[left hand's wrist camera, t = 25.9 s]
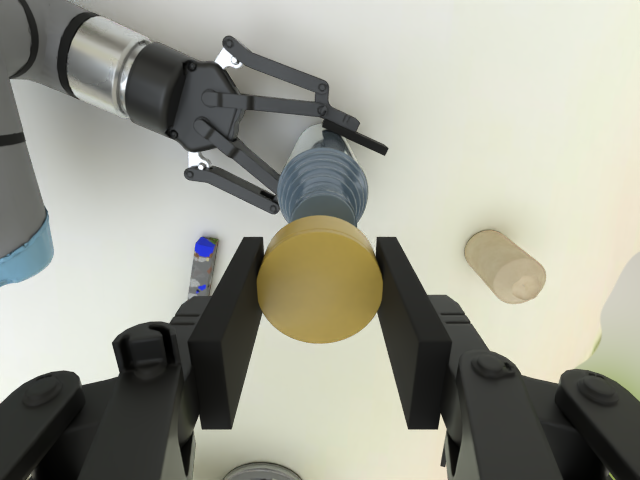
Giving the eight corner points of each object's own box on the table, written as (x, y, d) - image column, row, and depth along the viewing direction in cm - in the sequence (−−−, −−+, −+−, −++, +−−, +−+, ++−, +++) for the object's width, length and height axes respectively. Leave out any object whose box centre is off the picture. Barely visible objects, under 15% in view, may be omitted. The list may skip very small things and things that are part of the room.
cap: (395, 283, 15) (405, 308, 13) (303, 332, 16) (301, 362, 14) (338, 192, 13) (341, 207, 12) (241, 251, 14) (229, 273, 13)
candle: (455, 258, 47) (488, 299, 37) (481, 222, 45) (522, 256, 35) (489, 275, 47) (530, 319, 38) (516, 240, 46) (566, 278, 36)
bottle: (297, 177, 43) (268, 280, 19) (294, 124, 41) (257, 168, 17) (348, 175, 43) (381, 276, 19) (348, 122, 40) (384, 163, 17)
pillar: (178, 367, 51) (196, 241, 43) (183, 356, 53) (201, 234, 45) (193, 370, 51) (213, 245, 44) (198, 359, 53) (218, 238, 46)
